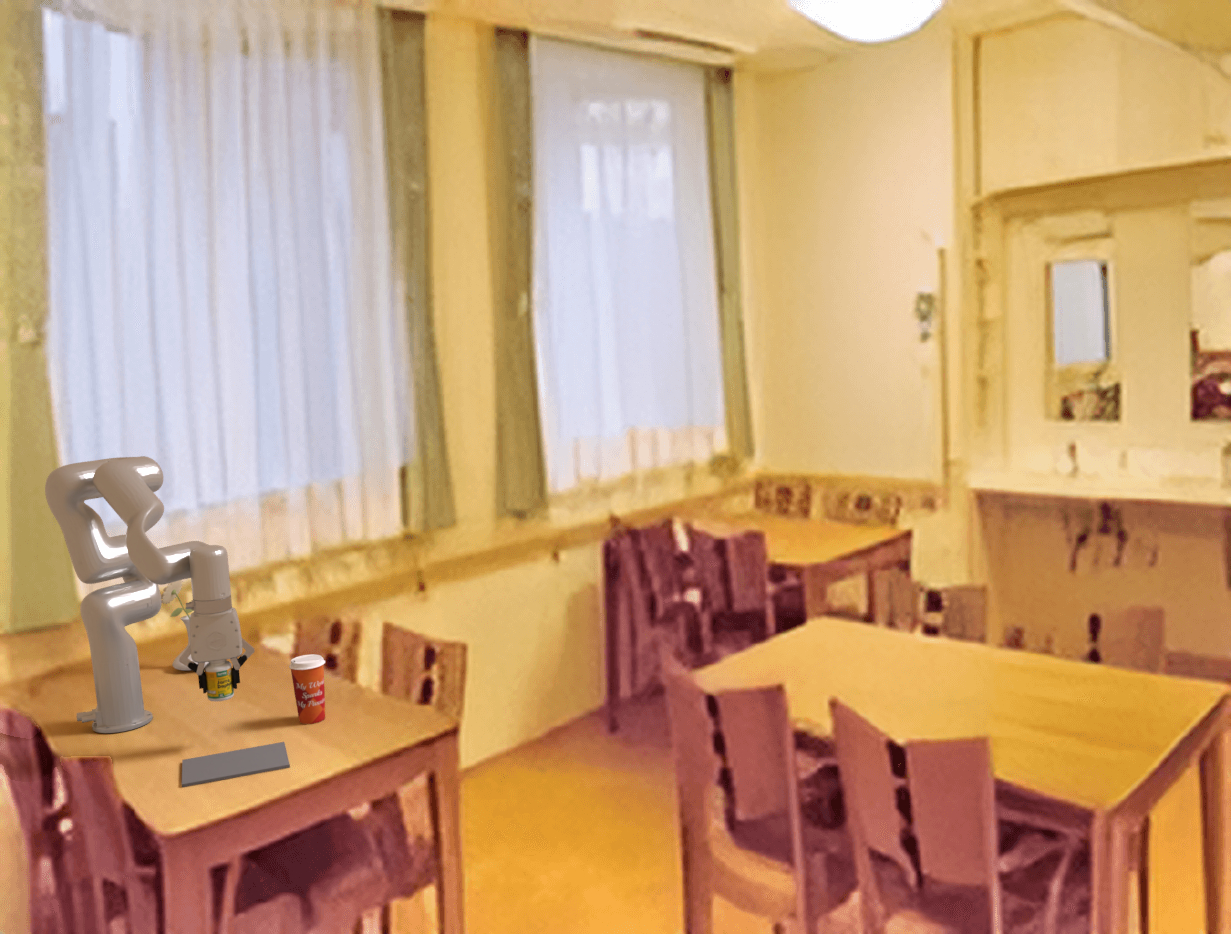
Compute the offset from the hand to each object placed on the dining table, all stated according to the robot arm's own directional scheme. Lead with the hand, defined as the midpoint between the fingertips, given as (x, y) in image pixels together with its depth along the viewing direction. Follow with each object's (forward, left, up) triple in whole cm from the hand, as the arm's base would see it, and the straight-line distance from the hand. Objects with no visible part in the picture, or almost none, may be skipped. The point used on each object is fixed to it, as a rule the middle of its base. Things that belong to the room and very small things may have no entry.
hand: (220, 688), depth 235 cm
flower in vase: (-7, +65, -12) cm, 67 cm away
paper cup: (+18, +6, -12) cm, 23 cm away
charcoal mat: (+1, -14, -12) cm, 18 cm away
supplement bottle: (0, 0, -2) cm, 2 cm away
